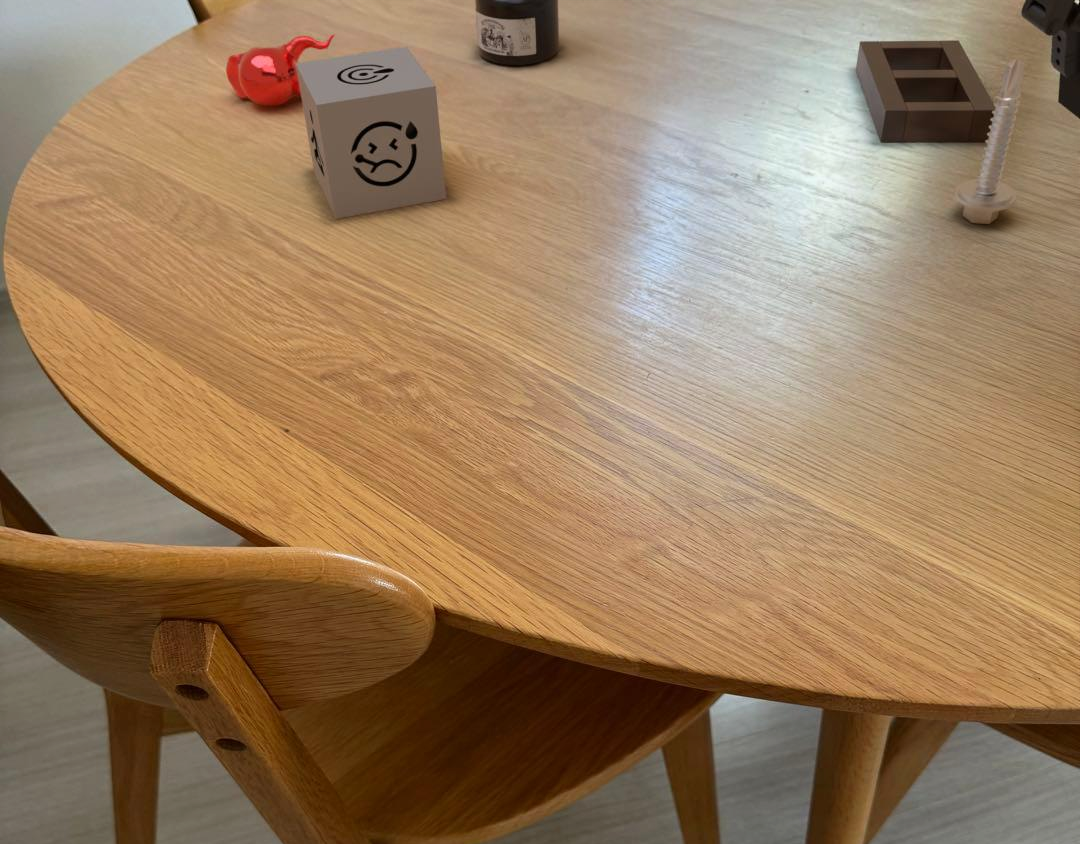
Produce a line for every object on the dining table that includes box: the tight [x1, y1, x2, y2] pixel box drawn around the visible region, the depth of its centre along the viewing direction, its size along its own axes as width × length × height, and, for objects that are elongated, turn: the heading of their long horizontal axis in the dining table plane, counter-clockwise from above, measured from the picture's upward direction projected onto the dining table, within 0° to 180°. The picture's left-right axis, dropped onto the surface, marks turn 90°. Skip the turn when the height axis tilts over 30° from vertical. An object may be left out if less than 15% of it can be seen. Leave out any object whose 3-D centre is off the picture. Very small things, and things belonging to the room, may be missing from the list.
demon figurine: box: [225, 33, 335, 107], centre depth 119 cm, size 8×6×12 cm
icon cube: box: [295, 46, 447, 220], centre depth 102 cm, size 10×10×10 cm
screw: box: [953, 58, 1026, 225], centre depth 92 cm, size 13×5×5 cm
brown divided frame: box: [855, 39, 996, 143], centre depth 113 cm, size 10×18×3 cm, turn 176°
